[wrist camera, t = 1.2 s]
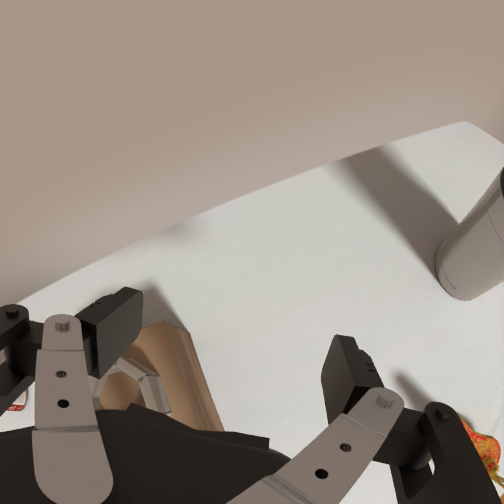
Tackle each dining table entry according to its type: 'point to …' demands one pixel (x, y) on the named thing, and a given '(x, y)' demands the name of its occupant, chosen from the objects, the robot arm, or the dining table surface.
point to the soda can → (19, 402)
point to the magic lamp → (486, 451)
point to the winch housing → (159, 379)
